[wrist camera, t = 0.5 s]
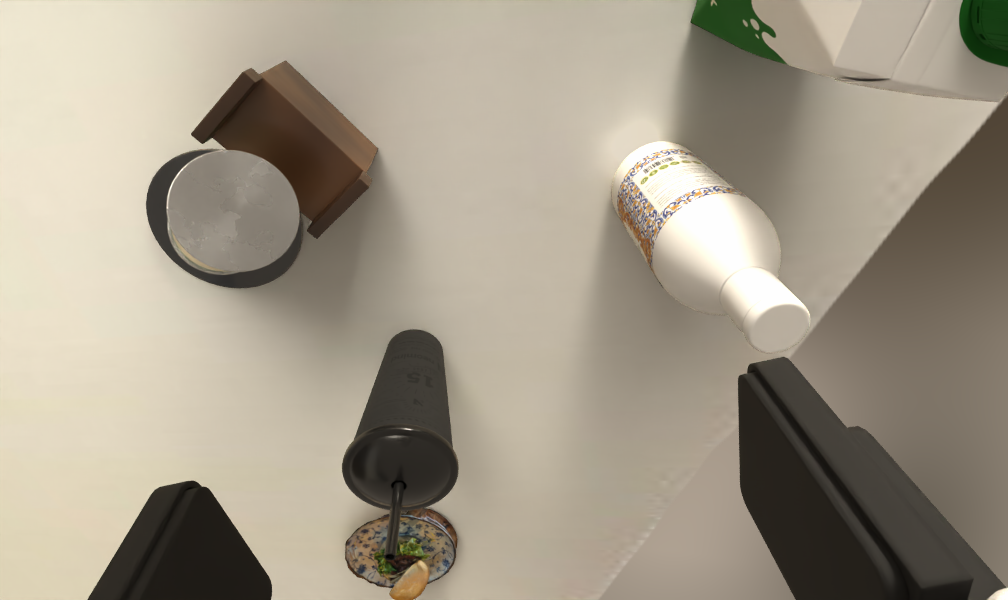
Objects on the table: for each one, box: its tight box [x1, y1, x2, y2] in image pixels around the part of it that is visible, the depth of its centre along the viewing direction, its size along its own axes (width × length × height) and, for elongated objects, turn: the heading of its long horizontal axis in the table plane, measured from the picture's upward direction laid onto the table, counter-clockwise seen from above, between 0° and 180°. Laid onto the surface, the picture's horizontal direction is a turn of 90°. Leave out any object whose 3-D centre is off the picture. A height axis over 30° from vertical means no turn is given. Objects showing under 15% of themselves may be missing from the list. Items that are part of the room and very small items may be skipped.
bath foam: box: [611, 142, 810, 353], centre depth 35 cm, size 7×7×20 cm
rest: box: [191, 61, 378, 239], centre depth 37 cm, size 9×5×7 cm, turn 42°
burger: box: [345, 508, 457, 600], centre depth 59 cm, size 12×12×8 cm
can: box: [166, 150, 300, 275], centre depth 36 cm, size 7×12×13 cm, turn 132°
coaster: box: [146, 149, 303, 288], centre depth 43 cm, size 11×11×1 cm
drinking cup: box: [342, 330, 458, 561], centre depth 41 cm, size 8×8×20 cm
